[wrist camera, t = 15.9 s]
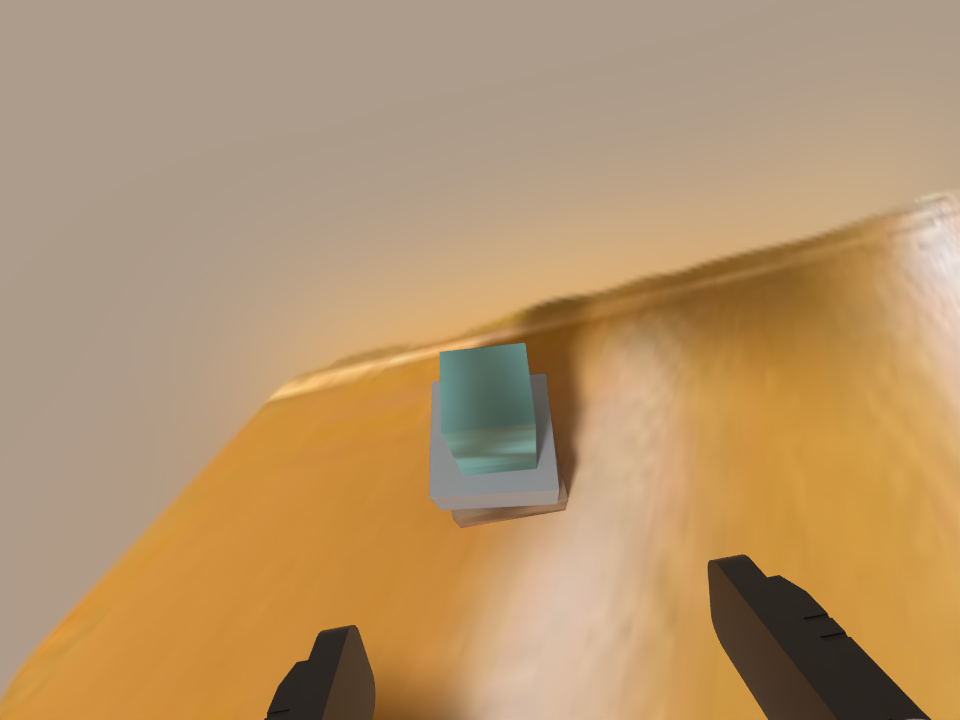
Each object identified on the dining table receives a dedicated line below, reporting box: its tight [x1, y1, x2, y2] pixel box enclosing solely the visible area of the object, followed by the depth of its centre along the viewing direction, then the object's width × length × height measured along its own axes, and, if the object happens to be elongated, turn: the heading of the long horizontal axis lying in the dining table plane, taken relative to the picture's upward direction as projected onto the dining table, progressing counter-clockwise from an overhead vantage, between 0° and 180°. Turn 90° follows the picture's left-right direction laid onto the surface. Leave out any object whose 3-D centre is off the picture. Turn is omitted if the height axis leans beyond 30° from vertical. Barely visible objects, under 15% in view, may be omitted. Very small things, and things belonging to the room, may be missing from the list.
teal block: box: [440, 343, 536, 475], centre depth 26 cm, size 5×5×8 cm
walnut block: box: [452, 438, 568, 528], centre depth 35 cm, size 8×8×4 cm
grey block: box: [429, 373, 559, 510], centre depth 32 cm, size 8×8×4 cm
